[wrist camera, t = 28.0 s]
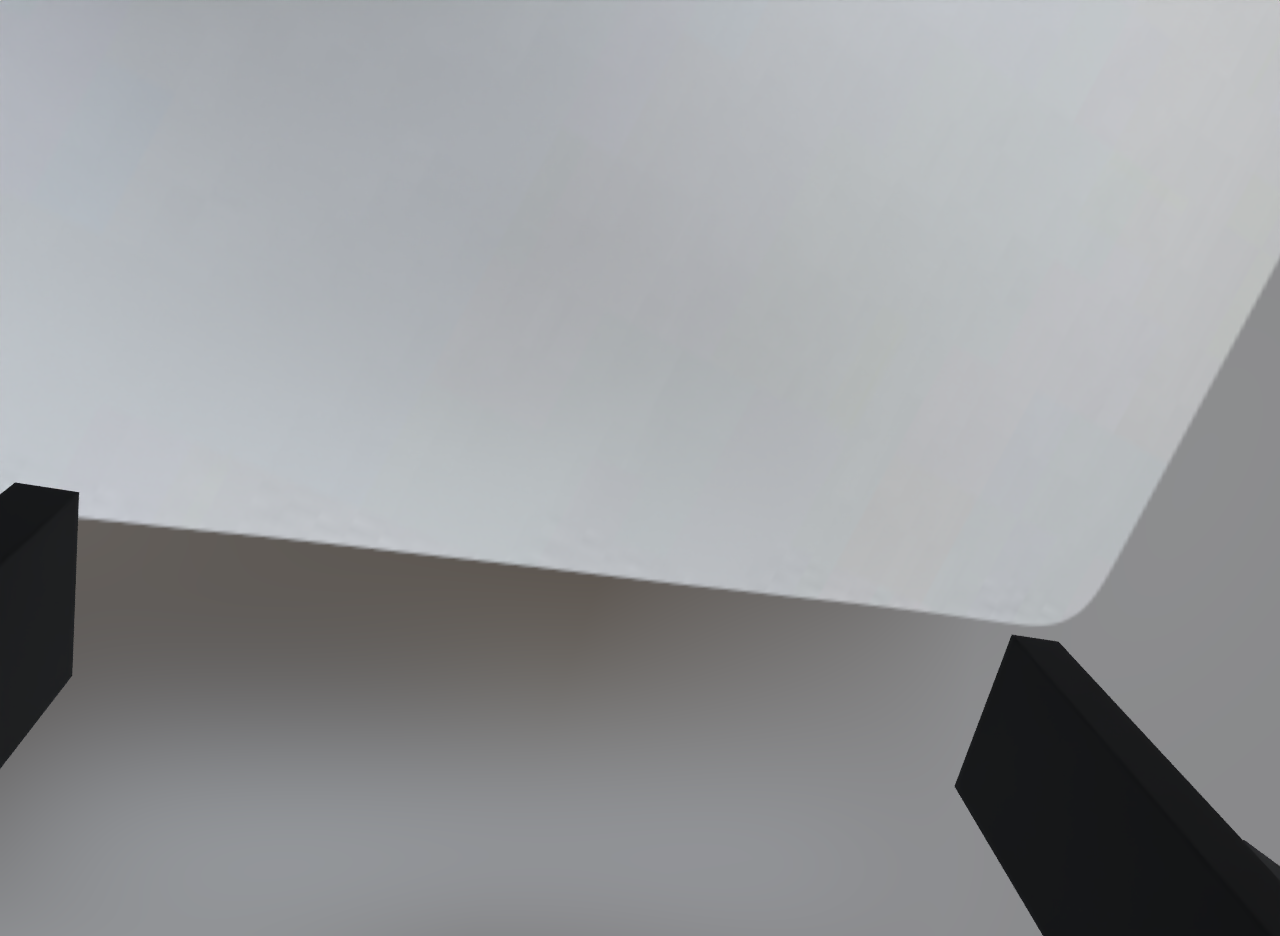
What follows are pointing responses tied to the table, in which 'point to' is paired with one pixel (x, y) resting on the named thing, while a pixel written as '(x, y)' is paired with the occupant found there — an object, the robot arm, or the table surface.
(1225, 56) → the table surface
